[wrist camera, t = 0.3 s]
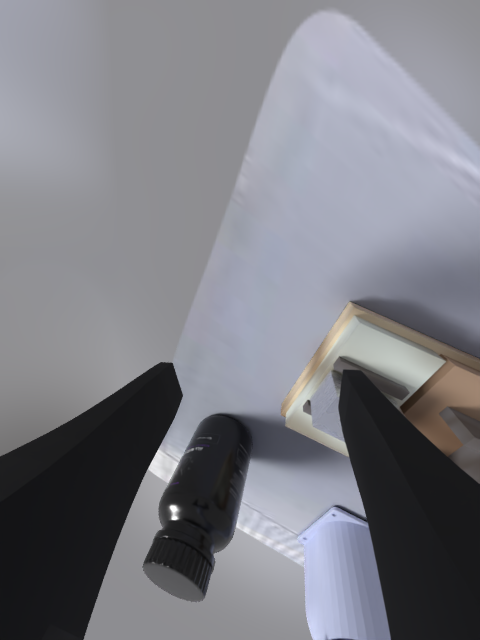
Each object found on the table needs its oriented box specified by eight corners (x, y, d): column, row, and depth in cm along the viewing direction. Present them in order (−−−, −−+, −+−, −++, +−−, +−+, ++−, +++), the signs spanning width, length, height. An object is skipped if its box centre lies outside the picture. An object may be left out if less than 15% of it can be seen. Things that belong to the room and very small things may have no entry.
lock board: (403, 463, 21) (437, 534, 16) (281, 403, 22) (277, 454, 17) (514, 374, 16) (614, 438, 11) (349, 301, 17) (372, 330, 12)
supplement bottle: (204, 404, 24) (131, 539, 14) (261, 427, 24) (231, 590, 13) (194, 442, 27) (127, 579, 16) (244, 463, 27) (209, 622, 16)
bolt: (370, 426, 17) (383, 461, 14) (310, 397, 17) (312, 426, 14) (395, 400, 15) (415, 433, 13) (330, 370, 16) (337, 396, 13)
